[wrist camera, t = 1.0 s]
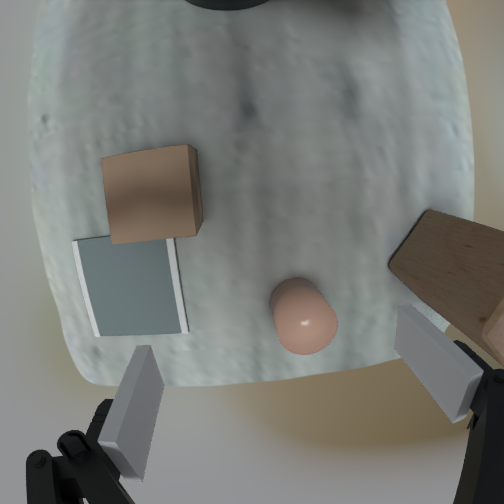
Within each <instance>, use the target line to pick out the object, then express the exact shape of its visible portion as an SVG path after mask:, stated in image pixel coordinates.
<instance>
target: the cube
mask: <svg viewBox="0 0 504 504" xmlns="http://www.w3.org/2000/svg"><path fill="white" fill-rule="evenodd" d="M101 160H102V171H103V182H104V191H105V199H106V207H107V214H108V221H109V228H110V234H111V240H112V245H113V244H122V243H132V242H141V241H150V240H160V239H170V238H180V237H190V236H196V235H197V233H198V231H199V229H200V227H201V225H202V223H203V213H202V203H201V192H200V182H199V170H198V159H197V150H196V149H195V148H193V147H191V146H190V145H188V144H185V145H177V146H169V147H162V148H155V149H149V150H142V151H136V152H130V153H125V154H119V155H114V156H109V157H104V158H101Z"/></svg>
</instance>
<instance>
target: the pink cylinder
mask: <svg viewBox="0 0 504 504" xmlns="http://www.w3.org/2000/svg"><path fill="white" fill-rule="evenodd" d="M270 310H271V313H272V317H273V320H274V323H275V327H276V330H277V333H278V337H279V340H280V342H281V344H282V345H283V346H284V348H285V349H287V350H288V351H290V352H292V353H295V354H299V355H308V354H313V353H316V352H318V351H320V350H322V349H323V348H325V347H326V346H327V345H328V344H329V343H330V342H331V341H332V340H333V338H334V336H335V334H336V331H337V327H338V321H337V317H336V314H335V312H334V311H333V310H332V308H331V307H330V305H329V304H328V303H327V301H326V300H325V298H324V297H323V296H322V294H321V293H320V292H319V290H318V289H317V287H316V286H315V285H314V284H313V283H312V282H310V281H308V280H306V279H303V278H292V279H288V280H286V281H284V282H282V283H281V284H279V285H278V286H277V287H276V288H275V290H274V291H273V293H272V295H271V298H270Z"/></svg>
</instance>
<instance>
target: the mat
mask: <svg viewBox="0 0 504 504" xmlns="http://www.w3.org/2000/svg"><path fill="white" fill-rule="evenodd" d="M72 246H73V251H74V256H75V261H76V266H77V270H78V275H79V279H80V283H81V288H82V292H83V296H84V299H85V303H86V307H87V311H88V314H89V318H90V321H91V324H92V328H93V331H94V334H95V337H101V336H123V335H153V334H174V333H182V334H188V333H189V327H188V321H187V316H186V310H185V304H184V298H183V292H182V286H181V279H180V273H179V266H178V259H177V252H176V245H175V238H170V239H160V240H150V241H141V242H132V243H122V244H113V245H112V240H111V236H103V237H95V238H87V239H79V240H74V241H72Z"/></svg>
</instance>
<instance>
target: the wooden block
mask: <svg viewBox="0 0 504 504" xmlns="http://www.w3.org/2000/svg"><path fill="white" fill-rule="evenodd" d="M389 266H390V269H391V271H392V272H393V273H394V274H395V275H396V276H397V277H398V278H399V279H400V280H401V281H402V282H403V283H404V284H405V285H406V286H407V287H408V288H409V289H410V290H412V291H413V292H414V293H415V294H416V295H417V296H418V297H419V298H420V299H421V300H422V301H423V302H424V303H425V304H427V305H428V306H429V307H431V308H432V309H433V310H434V311H436V312H437V313H438V314H440V315H441V316H442V317H443V318H445V319H446V320H447V321H449V322H450V323H451V324H452V325H454V326H455V327H456V328H457V329H459V330H460V331H461V332H462V333H464V334H465V335H466V336H467V337H469V338H470V339H471V340H472V341H473V342H475V343H476V344H477V345H478V346H479V347H481V348H482V349H483V350H484V351H486V352H487V353H488V354H489V355H490V356H491V357H493V358H494V359H495V360H496V361H497V362H498V363H500V364H501V365H502V366H503V367H504V231H501V230H498V229H495V228H492V227H488V226H485V225H482V224H479V223H476V222H472V221H469V220H465V219H462V218H459V217H455V216H452V215H448V214H445V213H441V212H437V211H434V210H428V211H427V212H425V213H424V215H423V216H422V218H421V219H420V221H419V222H418V224H417V225H416V226H415V228H414V229H413V231H412V232H411V234H410V235H409V236H408V238H407V239H406V241H405V242H404V243H403V245H402V246H401V247H400V249H399V250H398V251H397V253H396V254H395V255H394V257H393V258H392V259H391V261H390V263H389Z"/></svg>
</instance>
